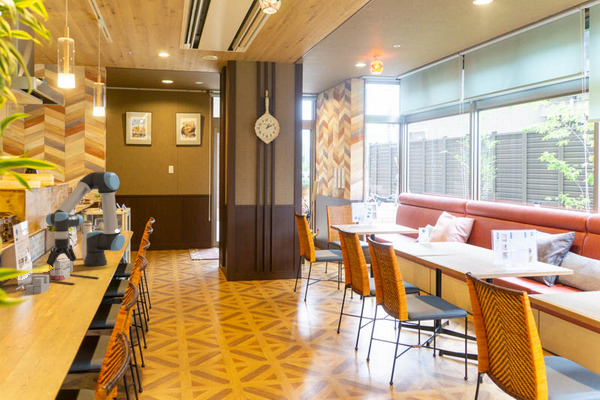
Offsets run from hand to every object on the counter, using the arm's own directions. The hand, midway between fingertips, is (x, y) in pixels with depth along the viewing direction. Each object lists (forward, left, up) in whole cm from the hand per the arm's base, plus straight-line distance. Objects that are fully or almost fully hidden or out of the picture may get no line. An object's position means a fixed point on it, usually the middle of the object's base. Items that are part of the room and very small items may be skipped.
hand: (61, 273), depth 317 cm
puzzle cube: (+30, +12, -4) cm, 33 cm away
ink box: (0, 0, -4) cm, 4 cm away
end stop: (0, -5, -3) cm, 6 cm away
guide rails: (0, +7, -3) cm, 7 cm away
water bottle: (-61, -39, -3) cm, 73 cm away
